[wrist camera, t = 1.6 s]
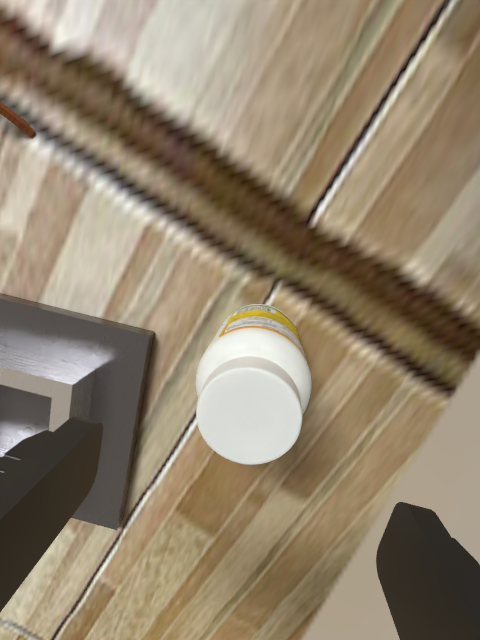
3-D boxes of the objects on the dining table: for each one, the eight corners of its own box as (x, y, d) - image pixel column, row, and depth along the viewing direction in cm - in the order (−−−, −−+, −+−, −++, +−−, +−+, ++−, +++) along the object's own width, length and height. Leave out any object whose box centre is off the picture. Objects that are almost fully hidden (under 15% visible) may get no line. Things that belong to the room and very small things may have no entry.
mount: (-65, 277, 22) (-127, 282, 19) (154, 331, 21) (133, 347, 18) (-65, 468, 26) (-116, 501, 22) (122, 519, 25) (99, 561, 22)
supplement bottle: (257, 285, 20) (248, 317, 11) (316, 343, 21) (355, 421, 11) (201, 342, 21) (149, 414, 12) (258, 395, 22) (250, 505, 12)
